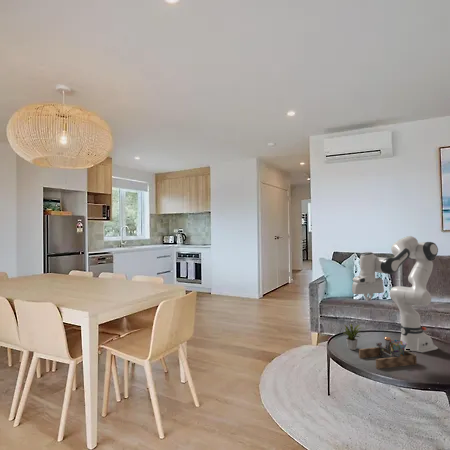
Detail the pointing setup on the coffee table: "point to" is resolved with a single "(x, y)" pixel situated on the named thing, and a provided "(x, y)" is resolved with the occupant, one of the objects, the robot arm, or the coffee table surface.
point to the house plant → (352, 337)
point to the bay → (388, 362)
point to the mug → (397, 346)
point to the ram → (387, 349)
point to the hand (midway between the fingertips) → (368, 300)
